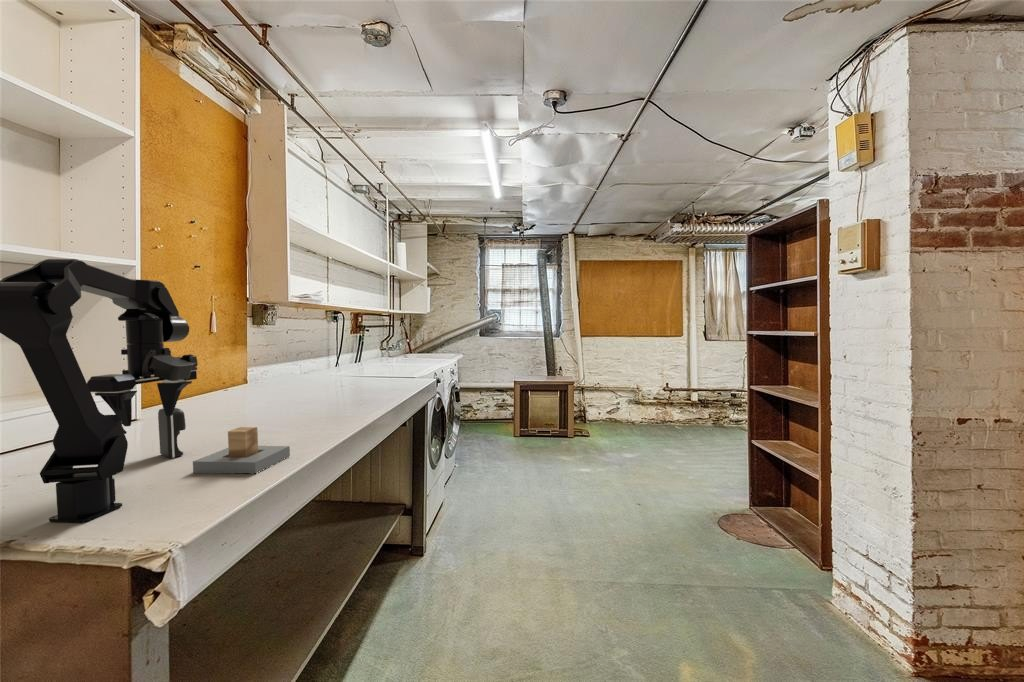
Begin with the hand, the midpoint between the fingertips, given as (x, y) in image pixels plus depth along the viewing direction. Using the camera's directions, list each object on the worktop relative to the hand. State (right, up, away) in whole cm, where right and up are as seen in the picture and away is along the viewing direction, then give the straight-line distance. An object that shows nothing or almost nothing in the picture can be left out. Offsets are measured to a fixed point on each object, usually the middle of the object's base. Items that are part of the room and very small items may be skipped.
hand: (149, 420), depth 89 cm
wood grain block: (+14, -12, +9) cm, 20 cm away
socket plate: (+14, -11, +9) cm, 20 cm away
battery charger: (-8, -12, +17) cm, 22 cm away
